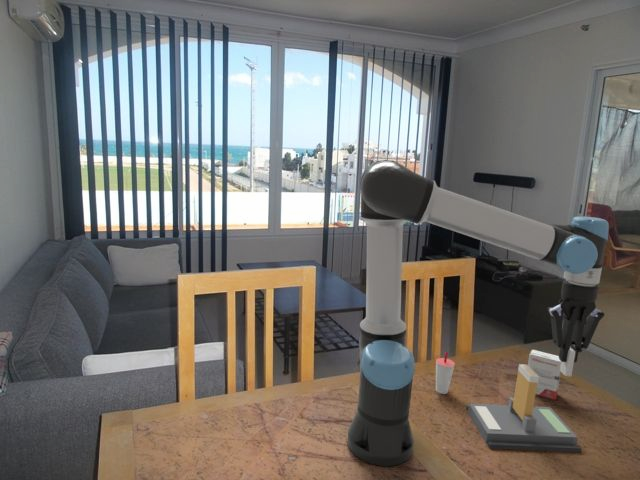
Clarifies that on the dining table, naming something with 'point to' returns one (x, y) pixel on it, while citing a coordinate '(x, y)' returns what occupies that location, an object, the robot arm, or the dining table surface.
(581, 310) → the robot arm
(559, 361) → the ink box
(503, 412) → the panel
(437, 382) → the cup
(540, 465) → the dining table surface
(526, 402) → the breaker lever
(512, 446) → the dark grey edge strip
